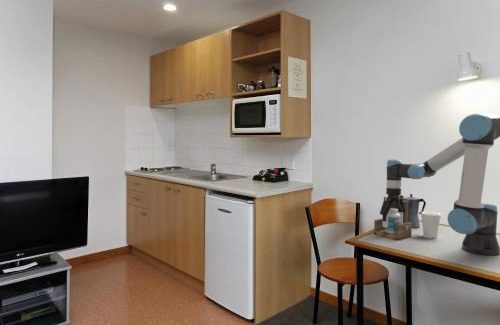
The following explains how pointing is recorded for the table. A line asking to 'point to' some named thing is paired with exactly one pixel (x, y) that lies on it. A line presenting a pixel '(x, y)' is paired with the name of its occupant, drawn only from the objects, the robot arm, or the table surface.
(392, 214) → the pill bottle
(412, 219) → the moka pot
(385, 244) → the table surface
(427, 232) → the foam cup
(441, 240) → the table surface
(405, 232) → the holder
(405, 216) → the canister
